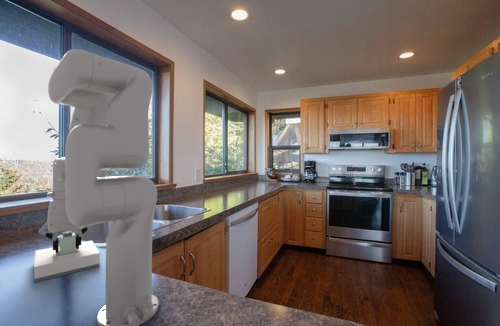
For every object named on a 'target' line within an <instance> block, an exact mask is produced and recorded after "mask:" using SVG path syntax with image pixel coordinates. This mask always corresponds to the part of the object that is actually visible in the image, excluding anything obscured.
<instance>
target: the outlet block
mask: <svg viewBox="0 0 500 326" xmlns="http://www.w3.org/2000/svg"><path fill="white" fill-rule="evenodd" d="M100 255H101V254H100V251H99V249H98V248H97V246H96V244H95V243H94V241H93V240H86V241H81V245H79V249H76V253H72V254H67V255H62V256H60V254H59V252H58V253H56V251H55V250H53V246H52V247H48V248H43V249H38V250H35V252H34V264H33V283H37V282H41V281H42V282H43V281H47V280H50V279H53V278H54V279H55V278H59V277H62V276H66V275H71V274H74V273H79V272H83V271H86V270H91V269H95V268H98V267H100V266H101V265H100V264H101V263H100V262H101V261H100V260H101V259H100V257H101V256H100Z"/></svg>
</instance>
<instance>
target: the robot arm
mask: <svg viewBox="0 0 500 326" xmlns="http://www.w3.org/2000/svg"><path fill="white" fill-rule="evenodd" d="M47 93H48V97H49V99H50V100H51V102H52V103H54V104H57V105H60V106H61V105H62V106H67V107H74V108H73V110H72V114H71V118H70V122H69V125H68V126H69V127H68V128H69V132H68V135H67V138H66V141H65V148H64V157H60V158H55V159H54V160H53V162H52V191H51V192H47V193H46V198H51V199H50V200H49V204H48V208H47V209H48V210H47V219H46V220H47V221H46V222H45V223H44V224H43V225H42V226H41V228H39V230H38V234H39V235H42V236H44V237H46V238H48V239H49V240H51V241H52V247H53V250H55V251H56V253H58V252H59V237H58V236H59V233H60V232H68V231H74V230H75V231H76V234H75V239H76V249H79V245H81V242H82V237H83V235H84V234H85V233H86V232H87V231H88V230H89V229H90V228H92V227H93V226H94V225H97V224H99V225H100V224H103V223H108V222H114V223H113V224H112V226H111V227H110V229H109V232H108V233H107V236H106V241H105V305H103V307H101V308H100V309H99V311H98V312H97V316H96V321H97V325H98V326H140V325H143V324H144V323H146V322H147V321H149V320H150V319H151V318H153V317H154V316H155V315H156V313H157V312H158V310H159V304H160V303H159V299H158V297H157V296H156V295H154V294H153V292H152V291H153V285H152V284H153V281H152V279H153V278H152V277H153V227H154V226H153V225H154V217H155V210H156V207H157V206H156V205H157V202H158V201H157V200H158V188H157V187H156V184H155V183H154V181H153V180H152V179H150V178H148V177H145V176H142V175H116V176H115V175H114V176H107V174H108V172H109V171H129V170H130V171H131V170H137V169H141V168H143V167H145V166H146V165H147V164H148V162H149V157H150V156H149V155H150V135H149V132H150V131H149V129H150V126H149V123H150V122H149V110H150V104H151V100H152V96H153V82H152V78H151V77H150V75H149V74H148V73H147V71H145V70H143V69H141V68H140V67H137V66H134V65H131V64H127V63H125V62H122V61H119V60H115V59H112V58H109V57H106V56H102V55H100V54H98V53H97V54H96V53H93V52H90V51H87V50H84V49H79V48H73V49H69V50H68V51H67V52H65V54H64V55H63V57H62V58H61V59H60V61H59V62H58V63H57V65H56V67H55V68H54V70H53V71H52V73H51V75H50V78H49V81H48V87H47Z"/></svg>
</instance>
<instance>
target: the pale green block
mask: <svg viewBox="0 0 500 326" xmlns="http://www.w3.org/2000/svg"><path fill="white" fill-rule="evenodd" d="M58 236H59V237H58V240H59V254H60V256H62V255H67V254H72V253H76V234H75V232H73V230H68V231H62V234H58Z"/></svg>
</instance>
